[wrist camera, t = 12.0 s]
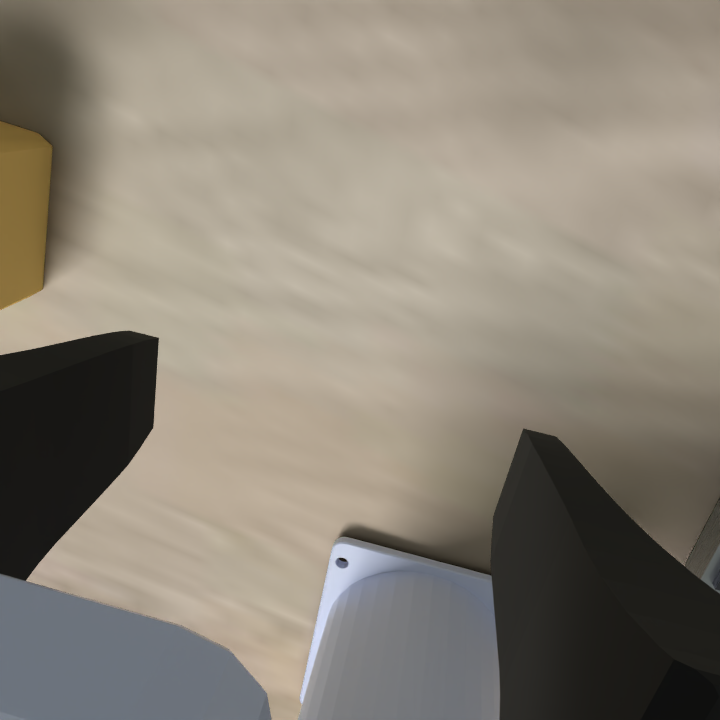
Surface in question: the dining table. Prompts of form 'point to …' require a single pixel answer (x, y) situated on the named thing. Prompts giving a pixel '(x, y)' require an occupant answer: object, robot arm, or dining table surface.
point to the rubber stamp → (22, 211)
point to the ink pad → (708, 552)
